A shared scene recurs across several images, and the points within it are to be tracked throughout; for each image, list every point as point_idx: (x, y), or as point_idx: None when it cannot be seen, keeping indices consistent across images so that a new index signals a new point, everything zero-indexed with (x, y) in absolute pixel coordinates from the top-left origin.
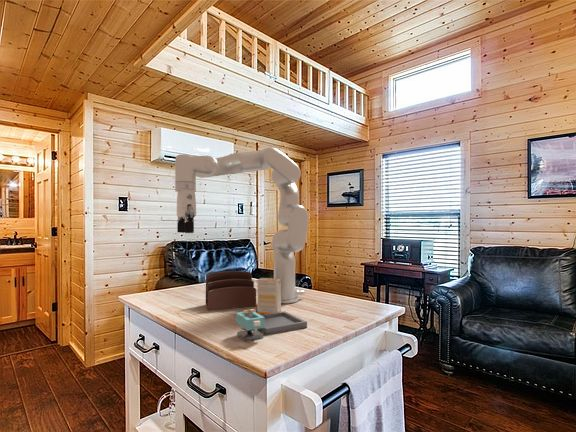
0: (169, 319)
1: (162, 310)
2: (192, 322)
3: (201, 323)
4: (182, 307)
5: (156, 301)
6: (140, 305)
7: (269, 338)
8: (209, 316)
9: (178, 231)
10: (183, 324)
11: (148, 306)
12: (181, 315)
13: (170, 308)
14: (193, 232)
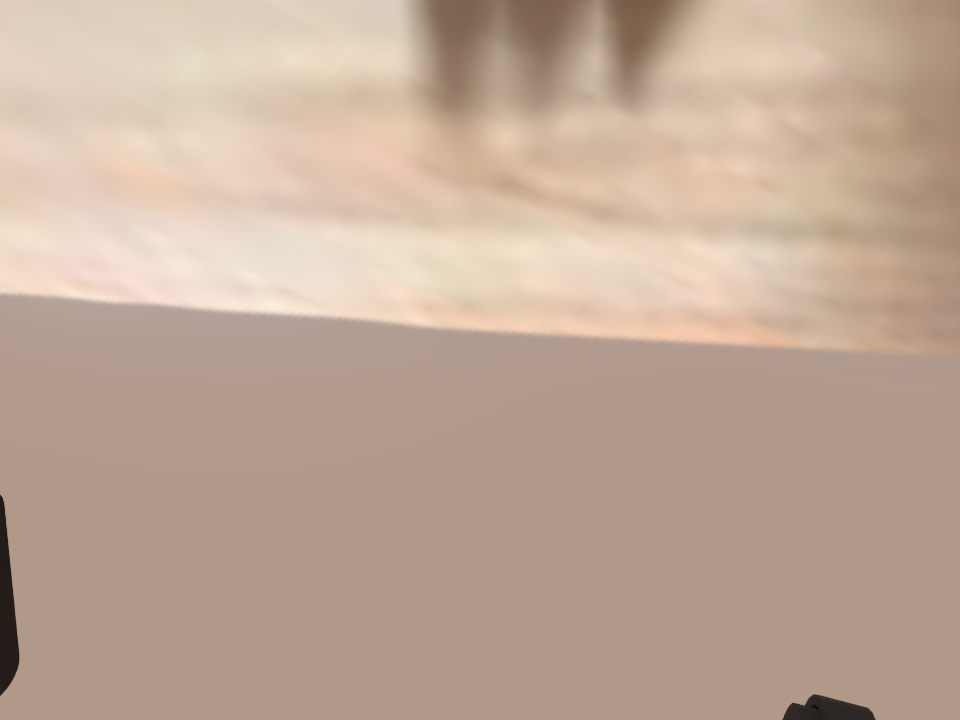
0: (628, 313)
1: (341, 235)
2: (845, 231)
3: (933, 194)
4: (348, 62)
5: (13, 137)
6: (89, 288)
7: None
8: (810, 29)
9: (3, 681)
10: (833, 304)
11: (153, 258)
12: (591, 196)
13: (318, 158)
14: (870, 713)
